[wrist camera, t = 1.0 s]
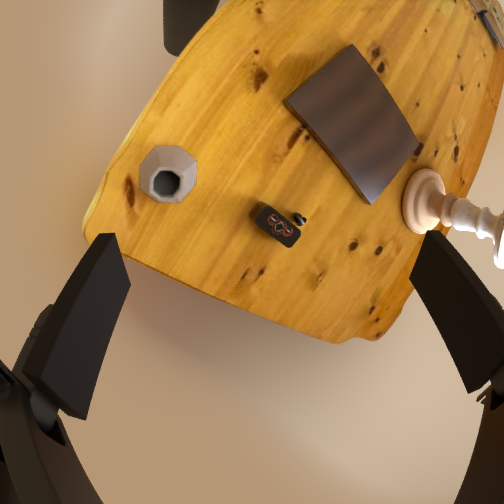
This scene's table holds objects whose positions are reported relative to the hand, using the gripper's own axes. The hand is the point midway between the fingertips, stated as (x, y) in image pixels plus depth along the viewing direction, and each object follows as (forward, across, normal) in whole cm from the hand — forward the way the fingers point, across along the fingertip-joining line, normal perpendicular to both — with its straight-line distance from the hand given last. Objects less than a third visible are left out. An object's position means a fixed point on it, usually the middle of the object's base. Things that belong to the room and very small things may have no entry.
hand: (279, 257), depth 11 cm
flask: (+23, -10, -4) cm, 26 cm away
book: (+56, +66, +46) cm, 98 cm away
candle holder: (+32, +31, -12) cm, 46 cm away
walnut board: (+31, +16, +1) cm, 35 cm away
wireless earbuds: (+24, +3, -12) cm, 27 cm away
